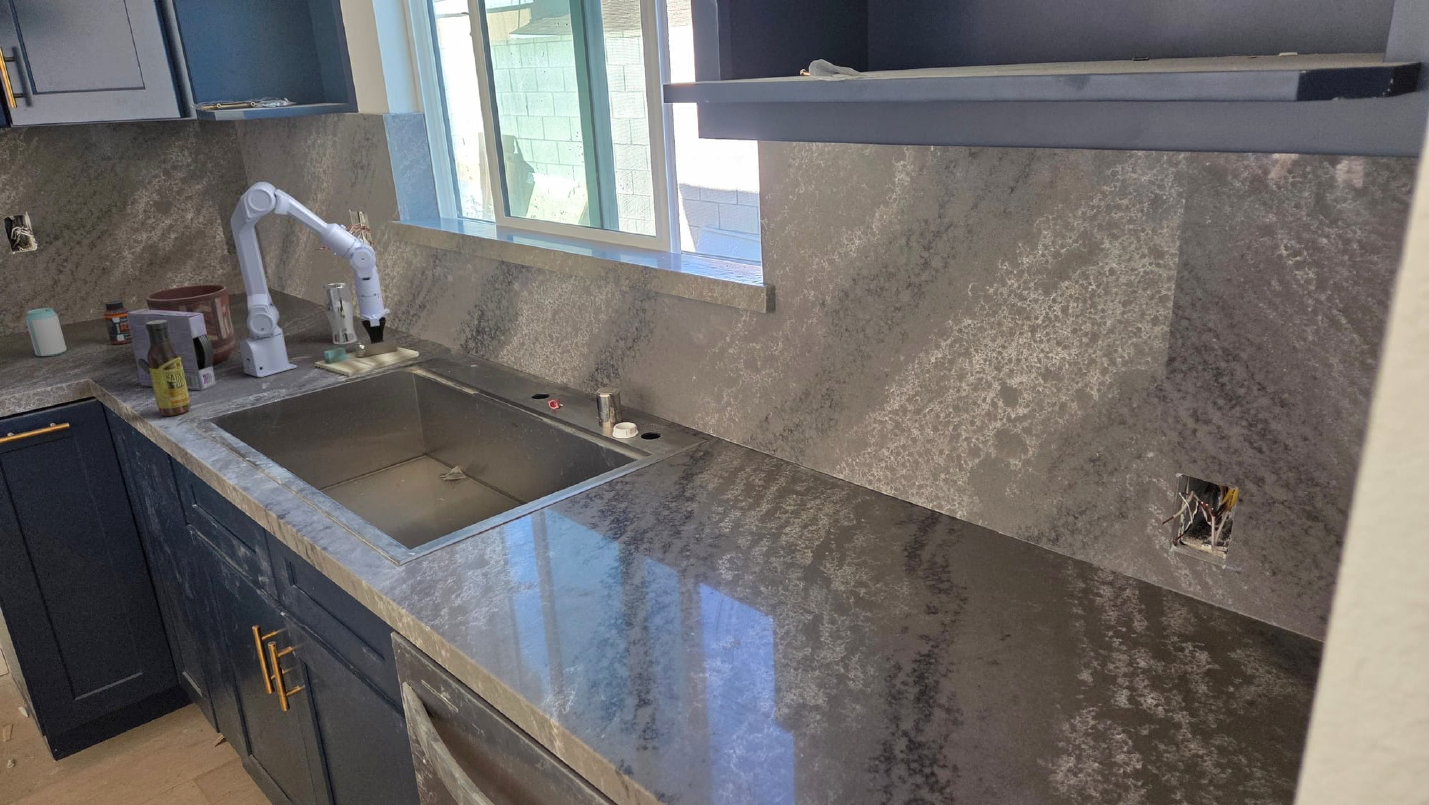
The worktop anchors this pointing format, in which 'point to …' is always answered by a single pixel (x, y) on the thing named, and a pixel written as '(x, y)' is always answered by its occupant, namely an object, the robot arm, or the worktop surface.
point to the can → (45, 332)
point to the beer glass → (339, 312)
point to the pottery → (201, 301)
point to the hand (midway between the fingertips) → (378, 347)
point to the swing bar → (375, 347)
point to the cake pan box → (175, 345)
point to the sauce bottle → (166, 371)
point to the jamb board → (361, 360)
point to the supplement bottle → (117, 323)
